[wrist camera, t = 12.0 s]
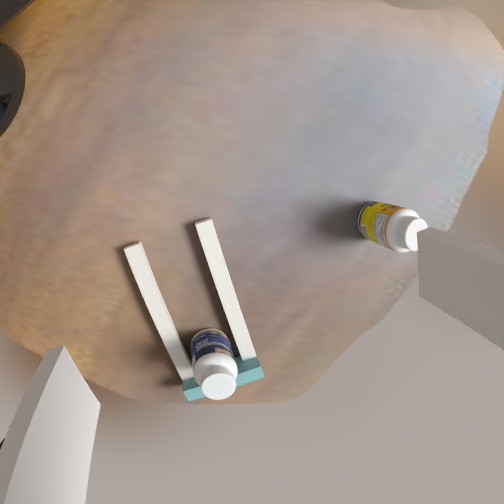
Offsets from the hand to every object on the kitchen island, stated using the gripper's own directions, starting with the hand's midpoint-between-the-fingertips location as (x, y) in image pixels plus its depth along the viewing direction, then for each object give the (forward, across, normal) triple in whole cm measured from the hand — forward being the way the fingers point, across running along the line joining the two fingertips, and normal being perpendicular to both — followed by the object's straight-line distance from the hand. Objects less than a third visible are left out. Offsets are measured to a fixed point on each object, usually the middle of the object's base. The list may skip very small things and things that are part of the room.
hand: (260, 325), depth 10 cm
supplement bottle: (+29, +23, -8) cm, 38 cm away
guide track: (+29, -4, -13) cm, 32 cm away
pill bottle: (+29, -4, -18) cm, 35 cm away
